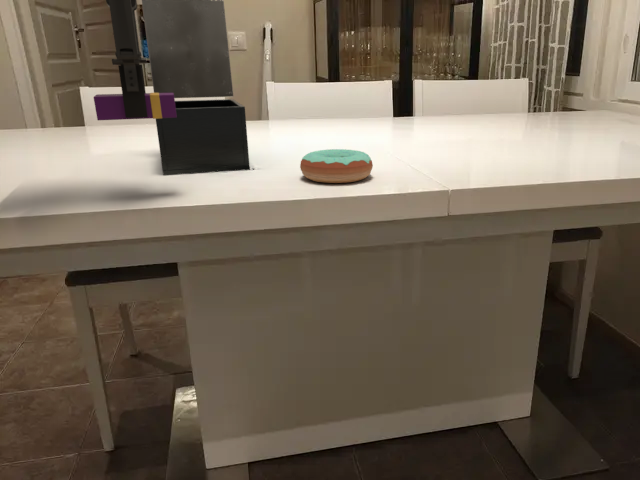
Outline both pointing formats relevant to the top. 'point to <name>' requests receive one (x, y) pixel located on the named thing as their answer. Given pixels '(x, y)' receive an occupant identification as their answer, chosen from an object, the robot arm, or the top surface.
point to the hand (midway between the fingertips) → (137, 115)
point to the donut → (336, 165)
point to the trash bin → (204, 137)
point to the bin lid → (188, 47)
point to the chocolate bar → (114, 108)
